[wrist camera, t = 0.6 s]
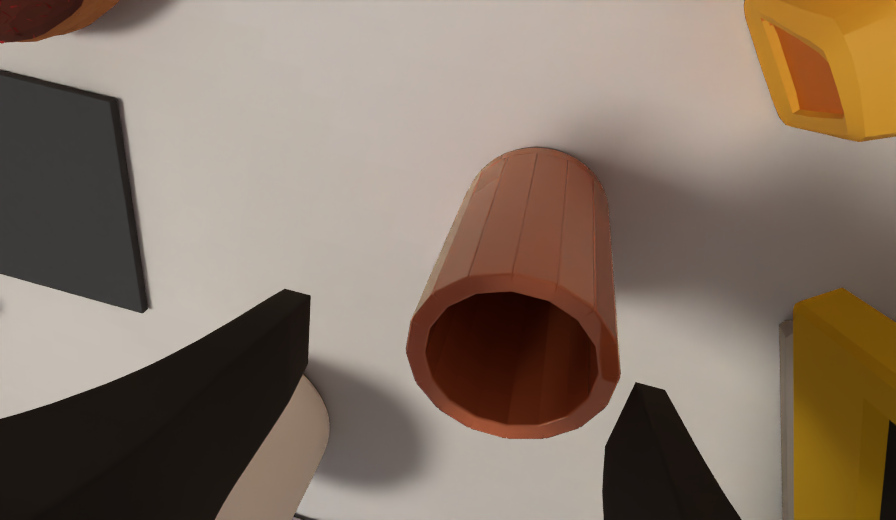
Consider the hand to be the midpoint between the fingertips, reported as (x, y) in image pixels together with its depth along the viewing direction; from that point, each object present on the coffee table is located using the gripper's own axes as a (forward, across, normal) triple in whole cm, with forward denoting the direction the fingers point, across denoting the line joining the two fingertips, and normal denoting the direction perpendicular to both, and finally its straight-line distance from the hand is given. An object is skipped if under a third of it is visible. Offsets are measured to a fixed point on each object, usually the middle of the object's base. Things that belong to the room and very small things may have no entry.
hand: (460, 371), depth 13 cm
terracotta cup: (+9, -1, 0) cm, 9 cm away
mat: (+9, +20, +5) cm, 22 cm away
